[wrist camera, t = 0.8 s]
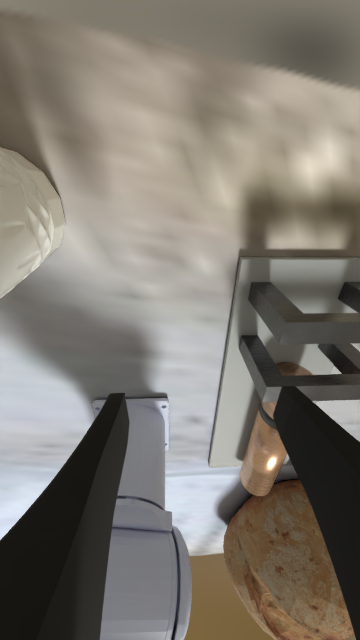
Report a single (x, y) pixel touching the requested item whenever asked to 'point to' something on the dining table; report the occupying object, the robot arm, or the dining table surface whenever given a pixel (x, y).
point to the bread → (285, 567)
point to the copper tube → (266, 444)
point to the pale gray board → (272, 339)
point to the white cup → (26, 219)
